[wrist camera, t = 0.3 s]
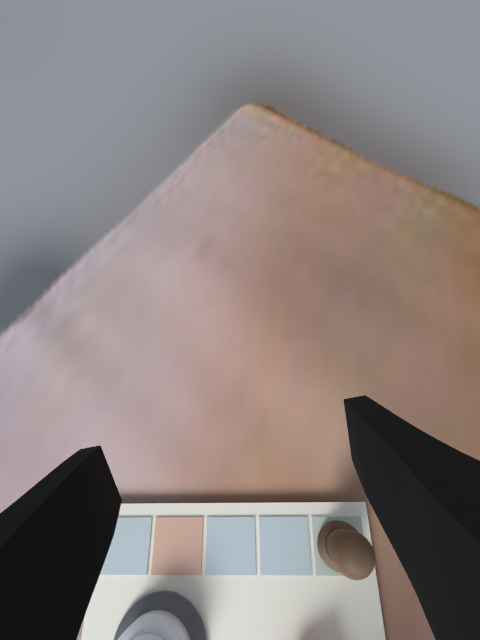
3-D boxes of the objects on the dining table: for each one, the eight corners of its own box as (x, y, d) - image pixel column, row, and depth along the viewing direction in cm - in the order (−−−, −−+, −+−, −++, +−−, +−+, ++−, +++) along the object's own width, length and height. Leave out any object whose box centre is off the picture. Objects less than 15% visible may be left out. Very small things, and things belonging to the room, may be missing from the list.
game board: (392, 711, 28) (399, 723, 27) (76, 705, 30) (67, 715, 28) (363, 501, 35) (367, 502, 34) (105, 503, 36) (98, 504, 35)
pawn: (364, 571, 32) (391, 591, 25) (319, 571, 32) (334, 591, 25) (358, 520, 33) (380, 526, 27) (315, 520, 33) (327, 526, 27)
